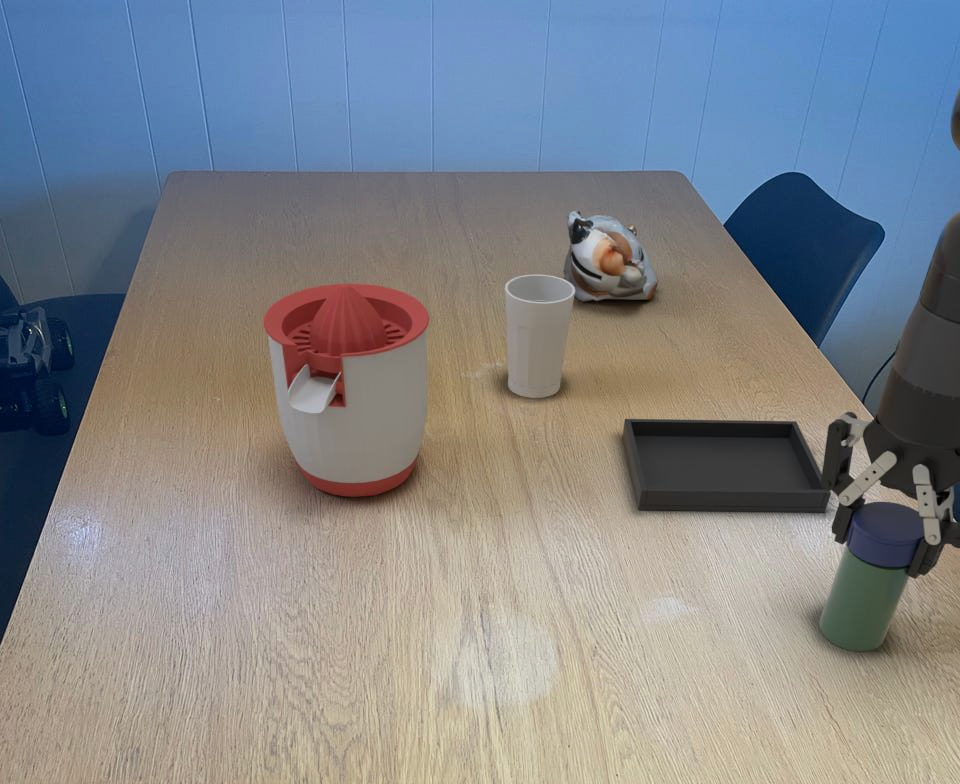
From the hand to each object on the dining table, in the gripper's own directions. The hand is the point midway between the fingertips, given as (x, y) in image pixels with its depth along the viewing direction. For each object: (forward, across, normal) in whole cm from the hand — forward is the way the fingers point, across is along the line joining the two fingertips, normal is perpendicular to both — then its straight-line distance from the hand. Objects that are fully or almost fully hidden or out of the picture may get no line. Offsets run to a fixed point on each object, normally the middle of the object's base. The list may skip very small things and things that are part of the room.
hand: (878, 555), depth 80 cm
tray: (+8, +22, -13) cm, 27 cm away
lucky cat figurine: (+8, +60, -41) cm, 73 cm away
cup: (+8, +49, -13) cm, 52 cm away
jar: (+8, 0, 0) cm, 8 cm away
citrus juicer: (+8, +50, +15) cm, 53 cm away
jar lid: (-3, 0, 0) cm, 3 cm away
